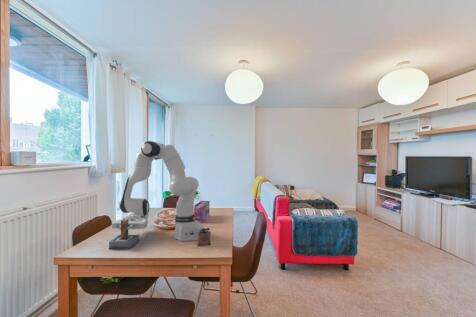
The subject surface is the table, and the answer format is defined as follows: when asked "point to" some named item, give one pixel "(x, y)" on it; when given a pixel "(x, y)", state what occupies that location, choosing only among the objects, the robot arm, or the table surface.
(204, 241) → the lighter
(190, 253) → the table surface
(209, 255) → the table surface
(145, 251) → the table surface
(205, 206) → the gum box
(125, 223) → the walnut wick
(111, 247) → the grey flat square block
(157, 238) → the table surface
